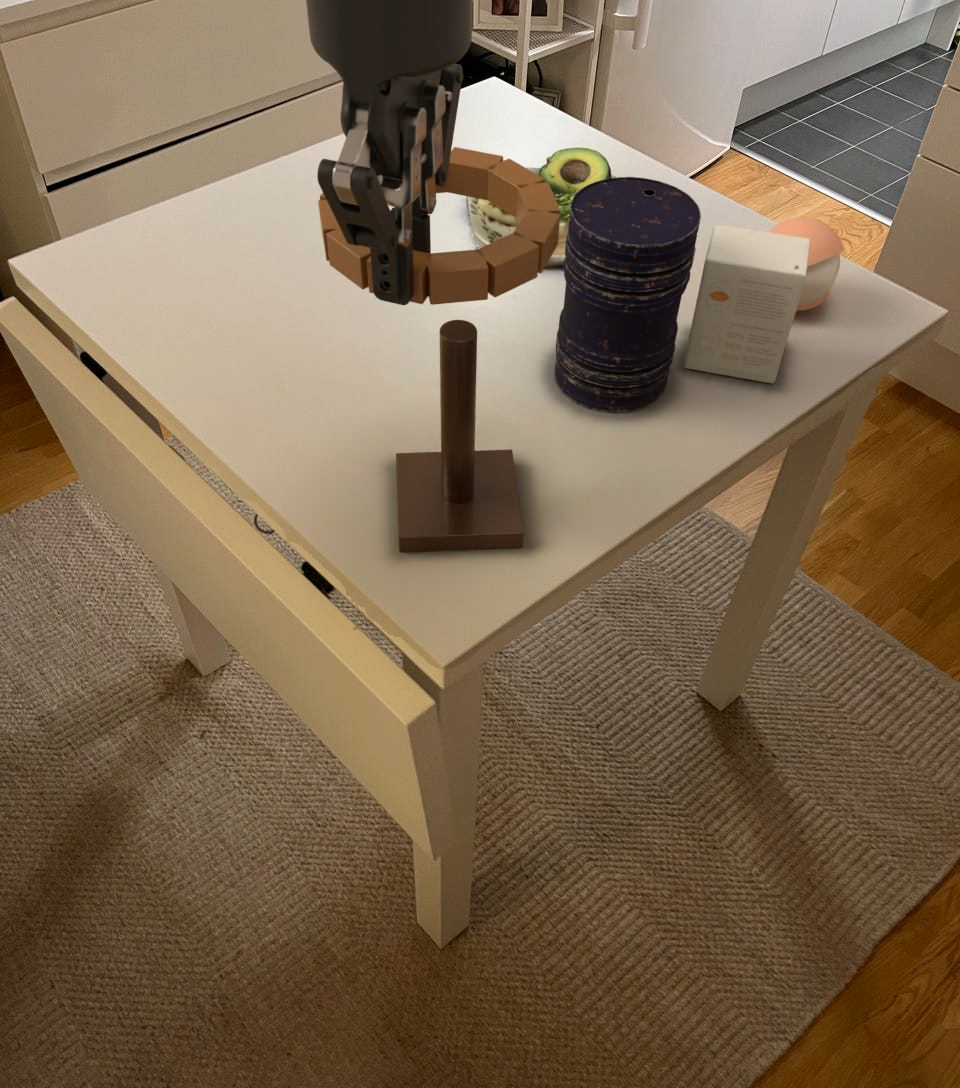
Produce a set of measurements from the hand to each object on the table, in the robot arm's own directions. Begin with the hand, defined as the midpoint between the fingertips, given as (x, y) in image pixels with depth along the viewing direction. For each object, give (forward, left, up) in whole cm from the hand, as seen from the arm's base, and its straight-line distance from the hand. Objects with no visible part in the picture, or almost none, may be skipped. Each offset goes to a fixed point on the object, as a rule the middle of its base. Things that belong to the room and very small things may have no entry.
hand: (402, 286), depth 57 cm
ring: (+2, +6, 0) cm, 6 cm away
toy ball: (+35, +28, -21) cm, 50 cm away
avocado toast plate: (+15, +43, -21) cm, 50 cm away
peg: (+3, +3, -21) cm, 21 cm away
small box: (+28, +20, -21) cm, 41 cm away
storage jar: (+17, +18, -21) cm, 33 cm away
